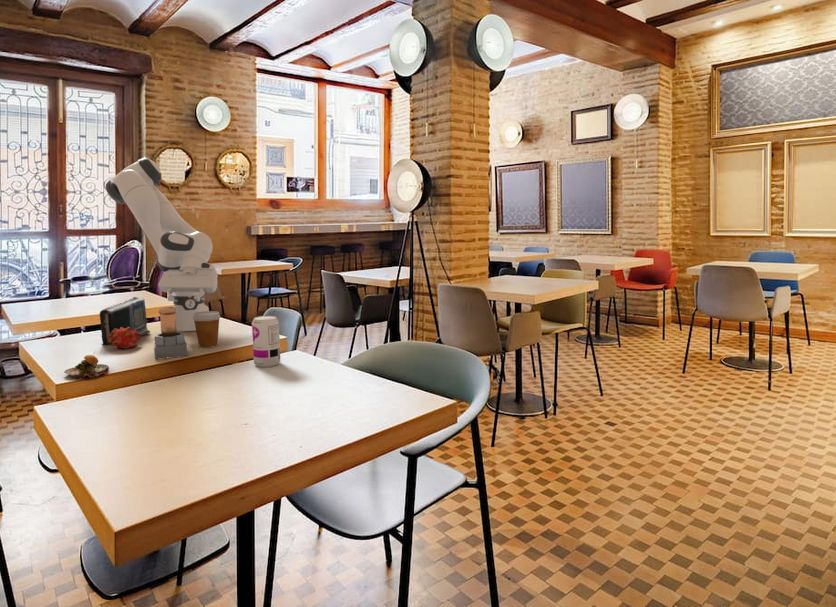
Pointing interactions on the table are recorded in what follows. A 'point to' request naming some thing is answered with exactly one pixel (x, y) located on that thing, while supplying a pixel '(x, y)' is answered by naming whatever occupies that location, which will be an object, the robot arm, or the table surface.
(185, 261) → the robot arm
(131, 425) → the table surface
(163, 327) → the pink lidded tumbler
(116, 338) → the dragon fruit
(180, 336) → the valve body
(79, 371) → the burger
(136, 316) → the radio
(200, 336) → the disposable coffee cup
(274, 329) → the supplement can
